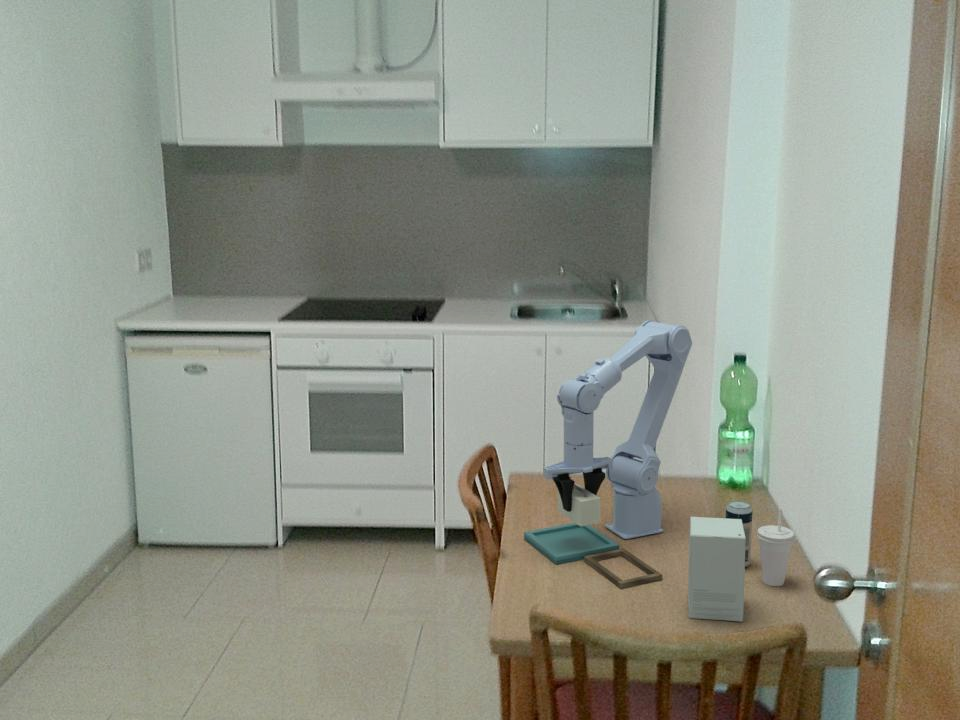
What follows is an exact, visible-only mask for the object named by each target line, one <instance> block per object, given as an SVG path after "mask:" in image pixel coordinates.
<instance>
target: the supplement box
mask: <svg viewBox="0 0 960 720" xmlns="http://www.w3.org/2000/svg"><path fill="white" fill-rule="evenodd" d="M689 518H690V519H689V536H688V537H689V538H688V539H689V540H688V579H687V580H688V584H687V585H688V590H687V599H688V604H687V605H688V618H689V619H699V620H700V619H701V620H712V621H714V620H715V621H716V620H717V621H726V622H727V621H728V622H740V623H741V622H744V605H745V604H744V603H745V601H744V600H745V570H746V567H745V544H746V537H745V533H744V528H743V524H742V519H727V518H726V517H725V518H722V517H721V518H720V517H707V516H706V517H704V516H703V517H702V516H690V517H689Z"/></svg>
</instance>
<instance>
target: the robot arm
mask: <svg viewBox="0 0 960 720" xmlns="http://www.w3.org/2000/svg"><path fill="white" fill-rule="evenodd" d="M692 346H693V340H692V337H691V334H690V331H689V329H688V328H687V327H686V326H684V325H681V324H679V325H677V324H669V323H664V322H658V321H657V322H656V321H654V320H646V321H643V322H642V324H640V326H638V327H635V332H634V335H633V337H632V338H630V339H629V341H627V342H626V343H625V344H624V345H623V346H622V347H621V348H620V349H619V350H618V351H617V352H616V353H615V354H613V356H612V357H610V358H608V357H602V358H597V359H596V360H595V361H594V362H595V363H594V364H593V365H591V366H590V367H589V368H587V369H586V370H585V371H584V372H581V373H580V374H579V375H578V377H576V379H574V378H573V379H568V380H566V381H565V382H564V383H562V384H561V386H560V388H559V392H558V393H557V395H556V400H557V402H558V404H559V406H560V407H561V415H562V416H563V461H559V462H557V463H553V464H551V465H548V466H543V467H542V469H543V473H542V475H543V477H544V478H545V479H546V480H553V482H554V485H555V486H556V489H557V492H558V491H559V494H560V497H561V500H562V505H563V509H564V510H566V511H568V512H570V511H571V509H572V491H573V486H574V484H576V483H575V482H576V481H574V480H573V479H572V478H571V476H570V475H576V474H581V473H582V476H583V484H584V489H586V490H588V491H589V492H591V493H593V494H595V495H596V496H598V495H597V494H598V492H599V490H600V488H601V485H602V484H603V482H604V480H605V479H606V478H607V480H608V481H609V482H610V483H611V485H610V486H611V488H613V520H612V522H610V523H606V524H605V525H604V527H605V528H606V529H608V530H609V531H611V532H613V534H615V535H617V536H619V537H621V539H623V540H630V539H633V538H639V537H645V536H649V535H653V534H659V533H664V529H663V528H662V508H663V507H662V506H663V505H662V503H663V502H662V497H661V494H660V492H659V490H658V489H657V488H656V487H655V486H656V485H657V483H658V479H659V469H660V466H661V463H662V462H661V460H660V457H659V456H658V454H657V453H656V451H655V447H656V445H657V442H658V439H659V436H660V434H661V431H662V428H663V425H664V422H665V420H666V418H667V414H668V412H669V409H670V406H671V405H672V401H673V398H674V395H675V393H676V391H677V387H678V385H679V382H680V380H681V376H682V374H683V371H684V367H685V364H686V362H687V360H688V356H689V354H690V352H691V348H692ZM644 357H646V359H647V360H648V361H649V362H650V363H651V364H652V367H653V371H654V372H653V373H652V377H651V379H650V382H649V385H648V387H647V390H646V392H645V395H644V398H643V401H642V404H641V405H640V406H641V407H640V409H639V412H638V415H637V417H636V420H635V422H634V425H633V428H632V430H631V433H630V436H629V439H628V440H627V441H625V442H622V443H621V444H619V445H617V446H616V448H615V451H614V453H613V454H612V455H611V457H609V456H604V457H594V413H595V412H594V411H596V410H598V408H599V406H600V403H601V401H602V399H603V398H604V396H605V394H606V393H608V392H609V391H610V390H611V389H612V388H614V386H617V384H618V383H619V382H620V381H621V380H622V373H623V372H624V371H626V370H627V369H628V368H630V367H631V366H633V365H634V364H635V363H637V362H639V361H640V360H641V359H643V358H644ZM603 470H605V472H604V471H603Z"/></svg>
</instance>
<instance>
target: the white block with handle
mask: <svg viewBox="0 0 960 720" xmlns="http://www.w3.org/2000/svg"><path fill="white" fill-rule="evenodd" d="M601 504H602V503H601V497H600V496H598V495H595V494H593V493H591V492H589V491H588V490H586V489H585V487H582V486H581V485H579V484H577V483H574V486H573V491H572V509H571V511H570V512H568V511H566V510H564V509H563V505H562V500H561V497H560V494H559V491H558V490H557V512H558V513H560V514H561V515H563V516H564V517H566V518H567V519H569V520H570V521H572V523H576V524H578V525H579V526H586V525H591V526H592V525H595V524H601V521H602V520H601V513H602V511H601V510H602V509H601Z"/></svg>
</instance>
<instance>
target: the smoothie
mask: <svg viewBox="0 0 960 720" xmlns="http://www.w3.org/2000/svg"><path fill="white" fill-rule="evenodd" d="M777 511H778V514H777V515H778V516H777V525H772V524H771V525H763V526H760V527H759V528H758V529H757V532H756V533H757V534H756V536H757V538H758V540H759V552H760V562H761V563H760V564H761V566H760V567H761V573H762V574H761V577H762V583H764V584H765V585H767V586H770V587H781V586H784V584H785V580H786V574H787V569H788V563H789V558H790V554H791V549H792V543H793V542H794V540H795V533H794V530H792V529H791V528H788V527H786V526H782V516H783V515H782V514H783V510H782V508H780V507H779V508H778V510H777Z"/></svg>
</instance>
